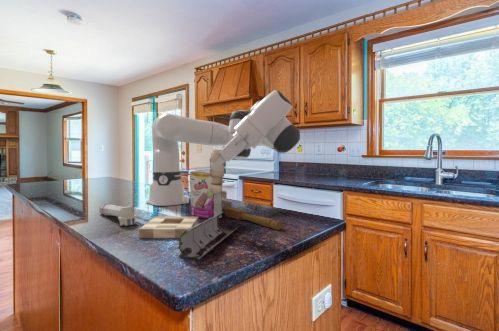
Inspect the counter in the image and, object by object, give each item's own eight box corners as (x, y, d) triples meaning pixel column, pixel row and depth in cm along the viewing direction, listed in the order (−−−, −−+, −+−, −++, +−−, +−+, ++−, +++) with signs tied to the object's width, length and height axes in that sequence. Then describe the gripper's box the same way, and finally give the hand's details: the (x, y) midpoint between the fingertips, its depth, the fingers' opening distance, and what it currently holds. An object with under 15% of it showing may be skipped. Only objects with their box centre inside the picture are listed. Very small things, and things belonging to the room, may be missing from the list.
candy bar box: (189, 216, 111) (189, 171, 110) (199, 213, 116) (198, 170, 114) (213, 220, 105) (213, 173, 104) (222, 217, 109) (222, 172, 108)
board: (155, 224, 101) (155, 216, 100) (198, 224, 100) (198, 216, 100) (139, 237, 86) (138, 229, 85) (189, 238, 85) (189, 229, 85)
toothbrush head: (111, 202, 118) (138, 202, 100) (112, 220, 118) (139, 223, 99) (97, 204, 114) (121, 205, 96) (98, 222, 114) (123, 226, 96)
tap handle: (275, 222, 93) (219, 206, 116) (275, 231, 93) (219, 214, 116) (282, 220, 95) (225, 205, 118) (282, 230, 95) (225, 213, 118)
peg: (210, 190, 96) (212, 149, 95) (224, 191, 96) (225, 149, 95) (208, 193, 92) (209, 149, 91) (222, 193, 91) (223, 150, 91)
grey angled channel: (188, 271, 69) (225, 240, 94) (207, 251, 68) (241, 225, 92) (167, 246, 71) (209, 222, 95) (186, 227, 69) (224, 207, 93)
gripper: (255, 141, 82) (219, 177, 83) (254, 142, 103) (225, 171, 103) (238, 124, 82) (202, 161, 83) (241, 129, 102) (212, 158, 103)
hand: (215, 167), depth 93 cm, fingers closed on peg, 4 cm apart
